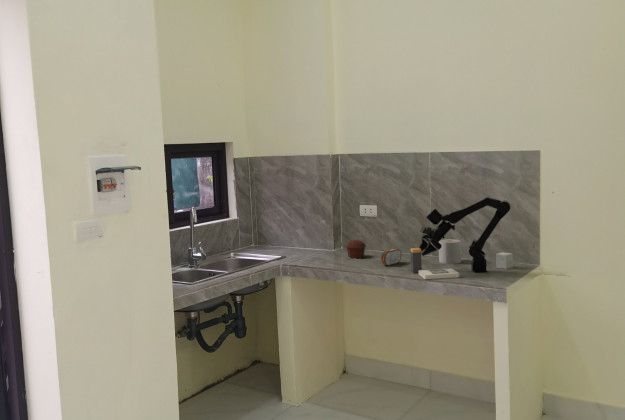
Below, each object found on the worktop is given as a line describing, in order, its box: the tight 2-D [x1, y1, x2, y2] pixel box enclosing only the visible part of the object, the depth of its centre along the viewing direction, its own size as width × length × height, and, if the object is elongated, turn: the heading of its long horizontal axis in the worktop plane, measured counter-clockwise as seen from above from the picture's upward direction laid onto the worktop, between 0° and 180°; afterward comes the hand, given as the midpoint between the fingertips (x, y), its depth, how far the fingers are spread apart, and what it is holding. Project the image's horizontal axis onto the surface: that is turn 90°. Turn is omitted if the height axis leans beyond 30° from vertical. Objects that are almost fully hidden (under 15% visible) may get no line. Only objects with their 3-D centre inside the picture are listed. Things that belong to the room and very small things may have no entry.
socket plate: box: [418, 268, 460, 280], centre depth 313 cm, size 17×12×2 cm
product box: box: [495, 251, 514, 270], centre depth 326 cm, size 6×6×7 cm
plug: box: [410, 247, 423, 274], centre depth 323 cm, size 4×4×12 cm
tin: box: [380, 247, 402, 266], centre depth 346 cm, size 15×3×8 cm, turn 134°
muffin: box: [345, 239, 367, 259], centre depth 371 cm, size 12×11×10 cm
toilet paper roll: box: [438, 238, 462, 265], centre depth 346 cm, size 12×12×12 cm
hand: (419, 253), depth 323 cm, fingers open, 9 cm apart
